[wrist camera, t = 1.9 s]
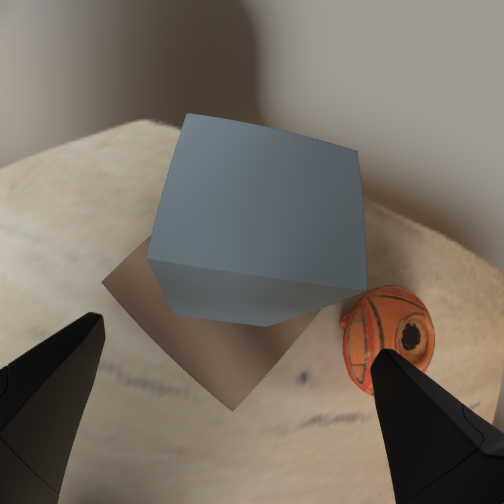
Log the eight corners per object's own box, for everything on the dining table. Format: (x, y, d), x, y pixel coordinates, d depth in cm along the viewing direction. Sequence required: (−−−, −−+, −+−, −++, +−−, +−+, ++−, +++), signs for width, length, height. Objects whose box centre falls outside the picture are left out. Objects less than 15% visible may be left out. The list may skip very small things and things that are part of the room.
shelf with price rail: (230, 408, 18) (239, 422, 14) (105, 285, 19) (87, 270, 15) (331, 289, 22) (357, 277, 18) (216, 185, 23) (222, 155, 19)
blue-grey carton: (266, 326, 19) (366, 290, 8) (175, 314, 18) (146, 258, 7) (273, 252, 21) (357, 146, 10) (188, 238, 20) (188, 108, 9)
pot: (377, 270, 23) (442, 264, 17) (400, 350, 23) (459, 360, 17) (301, 315, 20) (363, 324, 14) (333, 401, 20) (391, 430, 14)
